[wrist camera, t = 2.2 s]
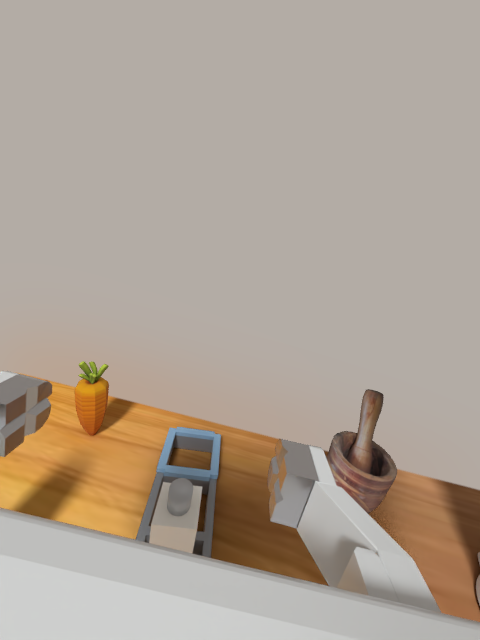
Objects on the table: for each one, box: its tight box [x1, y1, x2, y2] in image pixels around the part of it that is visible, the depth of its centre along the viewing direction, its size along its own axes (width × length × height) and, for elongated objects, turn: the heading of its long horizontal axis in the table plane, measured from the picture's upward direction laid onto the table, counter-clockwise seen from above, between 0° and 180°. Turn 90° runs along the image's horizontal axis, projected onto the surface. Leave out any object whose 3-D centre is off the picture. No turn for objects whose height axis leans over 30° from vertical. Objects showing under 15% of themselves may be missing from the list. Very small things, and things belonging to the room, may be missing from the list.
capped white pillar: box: [149, 478, 202, 553], centre depth 27 cm, size 4×4×16 cm
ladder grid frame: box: [136, 427, 221, 558], centre depth 36 cm, size 9×25×4 cm, turn 1°
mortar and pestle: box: [326, 389, 397, 514], centre depth 39 cm, size 12×9×20 cm
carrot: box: [75, 361, 109, 435], centre depth 44 cm, size 5×5×15 cm
